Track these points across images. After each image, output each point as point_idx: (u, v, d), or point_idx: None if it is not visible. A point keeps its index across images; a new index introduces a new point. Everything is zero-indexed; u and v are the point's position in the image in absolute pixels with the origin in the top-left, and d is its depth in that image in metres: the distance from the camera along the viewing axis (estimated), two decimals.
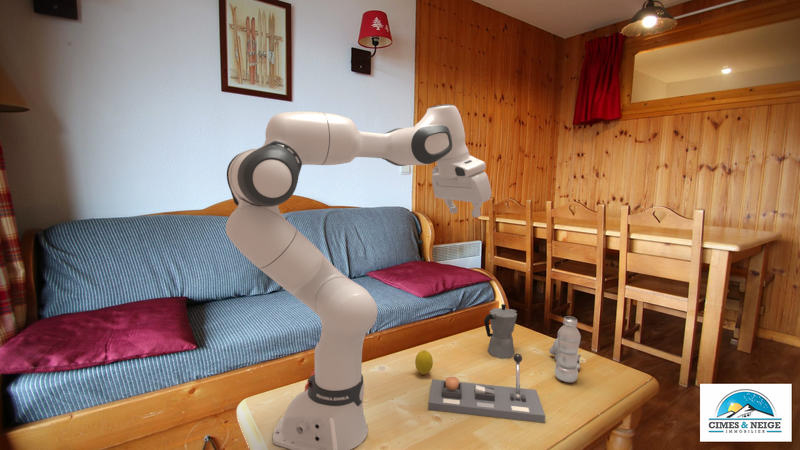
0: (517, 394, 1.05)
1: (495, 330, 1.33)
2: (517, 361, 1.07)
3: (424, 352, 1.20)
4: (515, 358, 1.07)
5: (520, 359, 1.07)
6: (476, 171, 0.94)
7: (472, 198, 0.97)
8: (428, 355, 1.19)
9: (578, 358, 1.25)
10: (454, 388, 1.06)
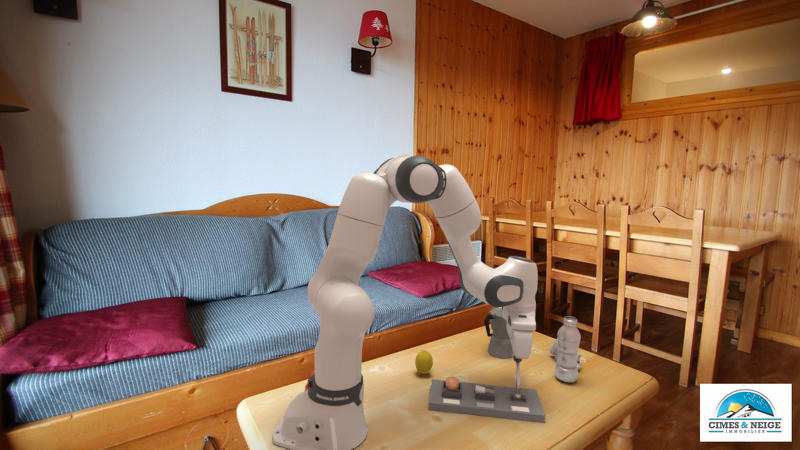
0: (517, 394, 1.05)
1: (495, 330, 1.33)
2: (517, 361, 1.07)
3: (424, 352, 1.20)
4: (515, 358, 1.07)
5: (520, 359, 1.07)
6: (521, 328, 1.01)
7: (513, 349, 1.04)
8: (428, 355, 1.19)
9: (578, 358, 1.25)
10: (454, 388, 1.06)
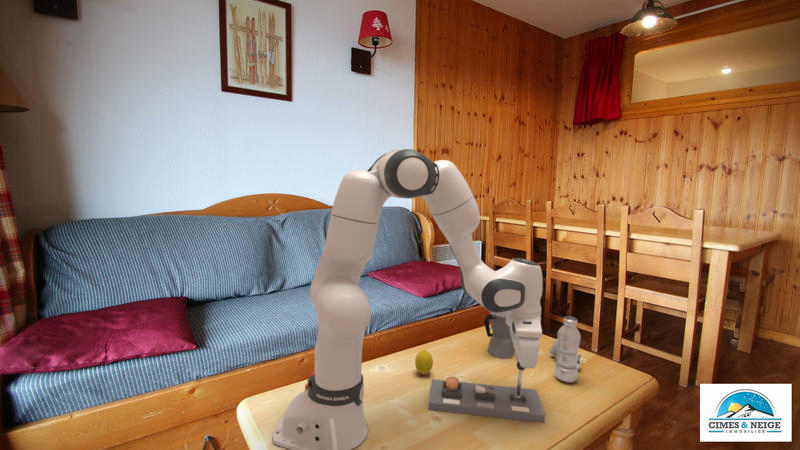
0: (517, 395, 1.05)
1: (495, 330, 1.33)
2: (520, 370, 1.02)
3: (424, 352, 1.20)
4: (518, 367, 1.01)
5: (523, 368, 1.01)
6: (527, 336, 0.94)
7: (518, 357, 0.97)
8: (428, 355, 1.19)
9: (578, 358, 1.25)
10: (454, 388, 1.06)
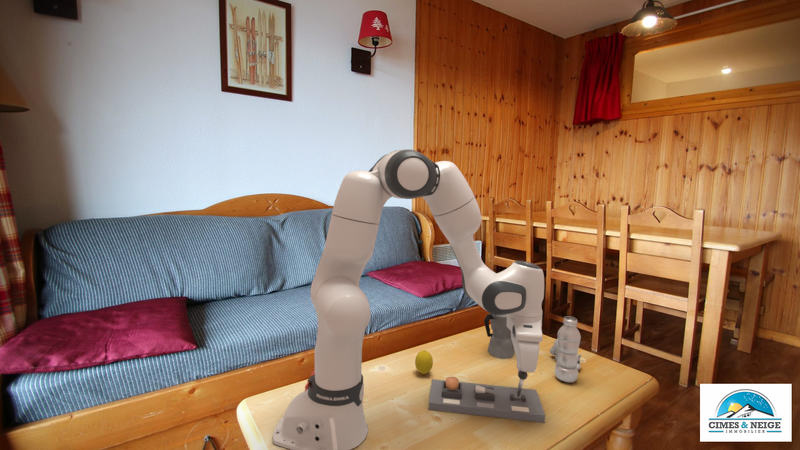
0: (517, 396, 1.04)
1: (495, 330, 1.33)
2: None
3: (424, 352, 1.20)
4: (520, 377, 0.99)
5: (525, 378, 0.99)
6: (527, 339, 0.93)
7: (518, 361, 0.96)
8: (428, 355, 1.19)
9: (578, 358, 1.25)
10: (454, 388, 1.06)
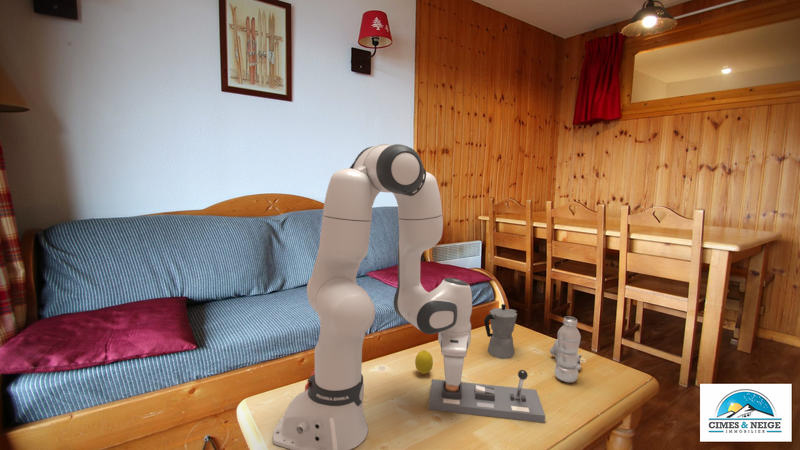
0: (517, 396, 1.04)
1: (495, 330, 1.33)
2: None
3: (424, 352, 1.19)
4: (520, 377, 0.99)
5: (525, 378, 0.99)
6: (451, 354, 0.97)
7: None
8: (428, 355, 1.19)
9: (579, 359, 1.25)
10: (454, 391, 1.06)
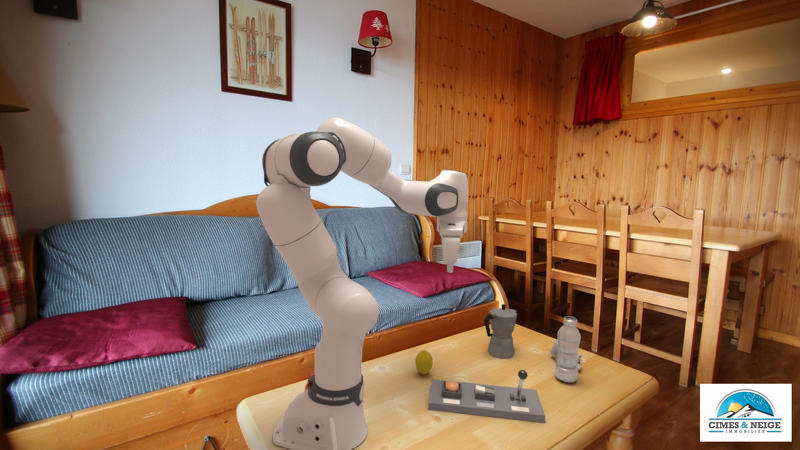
0: (517, 396, 1.04)
1: (495, 330, 1.33)
2: None
3: (424, 352, 1.20)
4: (520, 377, 0.99)
5: (525, 378, 0.99)
6: (449, 234, 1.04)
7: None
8: (428, 355, 1.19)
9: (579, 359, 1.25)
10: None
